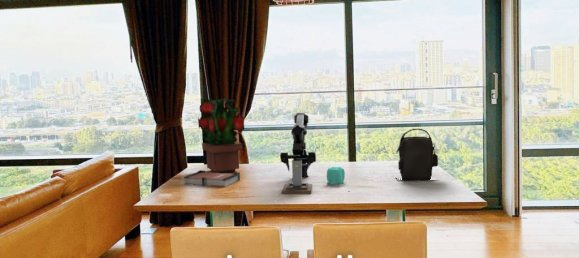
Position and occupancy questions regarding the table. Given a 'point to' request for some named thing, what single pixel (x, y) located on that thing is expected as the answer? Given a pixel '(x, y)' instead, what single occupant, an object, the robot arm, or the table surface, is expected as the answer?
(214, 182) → the book
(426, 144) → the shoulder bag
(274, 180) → the table surface
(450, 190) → the table surface
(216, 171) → the potted plant
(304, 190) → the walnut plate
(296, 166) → the block
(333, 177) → the decorative dice
